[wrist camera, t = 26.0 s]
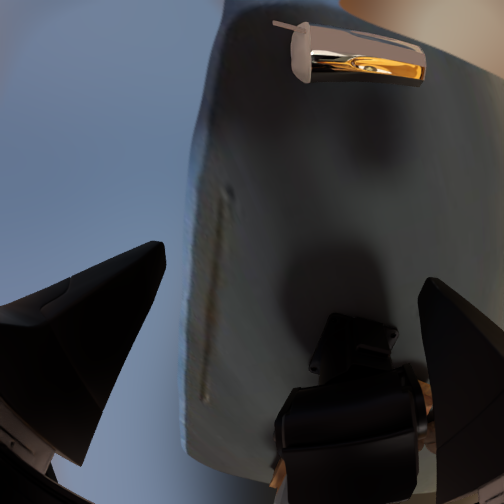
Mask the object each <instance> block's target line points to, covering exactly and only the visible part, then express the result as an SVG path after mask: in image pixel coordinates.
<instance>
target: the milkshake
mask: <svg viewBox="0 0 504 504" xmlns="http://www.w3.org/2000/svg"><path fill="white" fill-rule="evenodd" d="M273 25H275V26H279V27H283V28H287V29H290V30H294V33H293V35H292V42H291V59H292V62H291V66H292V71H293V73H294V74H295V76H296V77H297V78H298V79H299V80H301V81H302V82H304V83H319V82H372V83H385V84H395V85H404V86H412V87H420V86H421V84H422V83H423V81H424V79H425V74H426V68H427V67H426V59H425V54H424V52H423V51H422V49H421V47H419V46H416V45H413V44H410V43H407V42H403V41H400V40H396V39H392V38H388V37H384V36H380V35H376V34H371V33H367V32H362V31H357V30H352V29H347V28H341V27H336V26H330V25H324V24H317V23H308V22H303V23H301V24H299V25H298V26H294V25H290V24H286V23H282V22H278V21H274V20H273Z"/></svg>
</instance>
